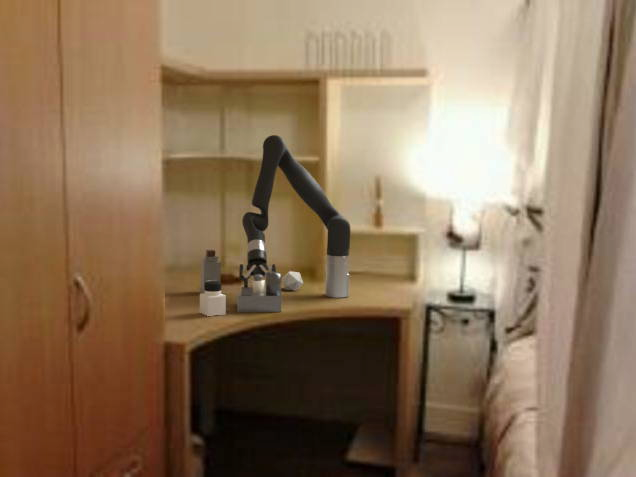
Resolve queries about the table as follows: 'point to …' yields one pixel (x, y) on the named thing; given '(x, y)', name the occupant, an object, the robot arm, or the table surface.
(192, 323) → the table surface
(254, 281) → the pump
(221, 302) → the medicine bottle
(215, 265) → the perfume bottle
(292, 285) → the die
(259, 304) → the block
